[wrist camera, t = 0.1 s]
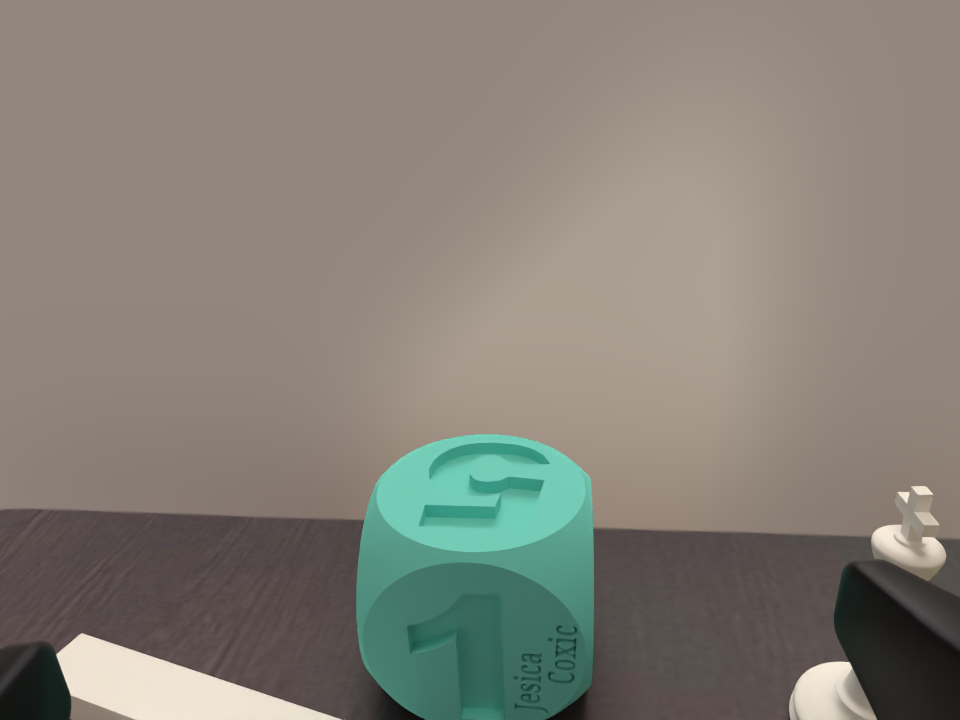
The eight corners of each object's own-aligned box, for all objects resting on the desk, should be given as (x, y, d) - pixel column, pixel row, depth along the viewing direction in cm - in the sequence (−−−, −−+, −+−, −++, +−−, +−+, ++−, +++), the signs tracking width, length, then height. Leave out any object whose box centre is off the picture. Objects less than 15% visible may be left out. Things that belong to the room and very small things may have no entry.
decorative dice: (369, 730, 26) (343, 552, 23) (411, 581, 34) (396, 430, 30) (590, 744, 25) (596, 561, 22) (584, 588, 33) (588, 433, 29)
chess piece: (817, 793, 23) (872, 541, 19) (771, 672, 28) (807, 448, 24) (976, 798, 23) (1065, 543, 19) (903, 674, 28) (963, 448, 24)
